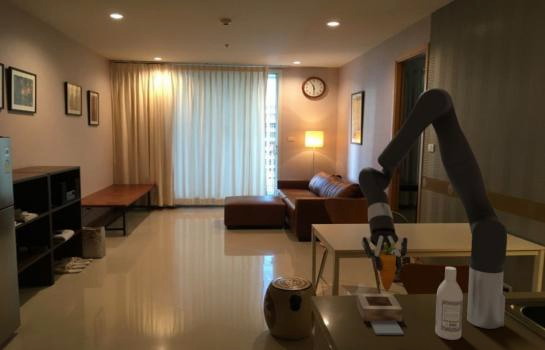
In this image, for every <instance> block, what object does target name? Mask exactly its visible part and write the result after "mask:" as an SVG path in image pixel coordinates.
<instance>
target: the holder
mask: <svg viewBox="0 0 545 350" xmlns="http://www.w3.org/2000/svg"><path fill="white" fill-rule="evenodd" d="M356 307H357V309H358V312H359V314H360V316H361V320H362V321H363V322H370V320H396V321H397V323H398V322H403V308H402V305H400V303H399V302H398V300H397V299H396V297H395V296H394V294H393V293H356Z"/></svg>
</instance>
